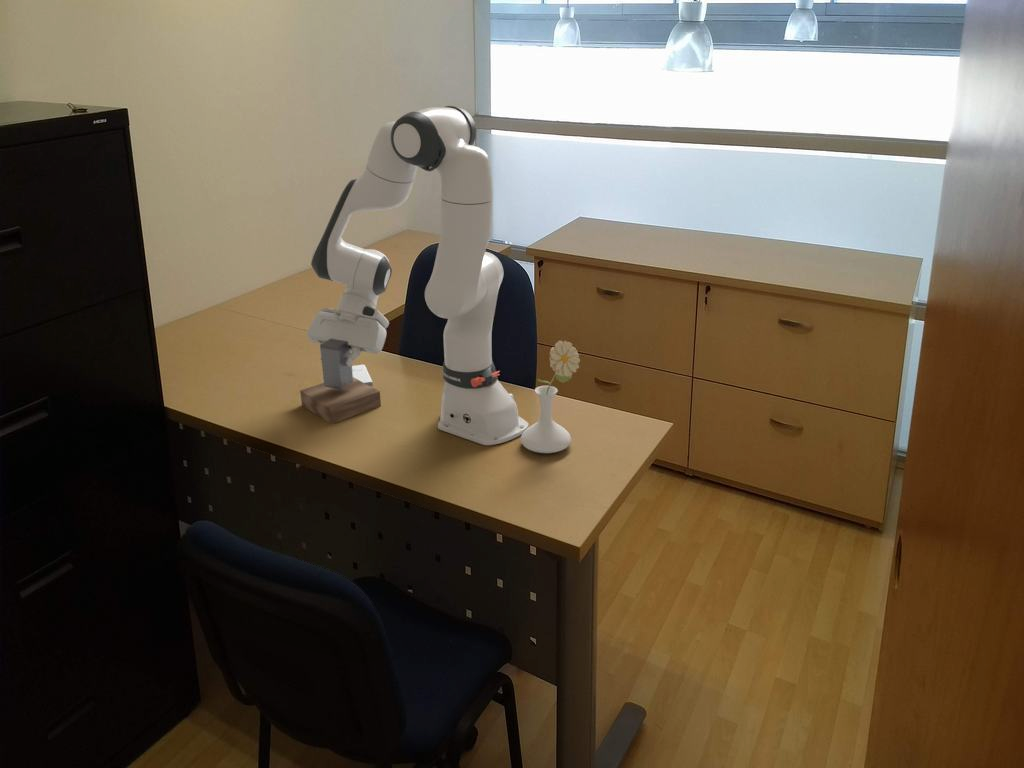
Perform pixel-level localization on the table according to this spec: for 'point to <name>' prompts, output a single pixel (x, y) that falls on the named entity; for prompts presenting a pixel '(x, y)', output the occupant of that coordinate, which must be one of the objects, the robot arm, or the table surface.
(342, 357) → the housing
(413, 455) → the table surface
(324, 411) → the stand
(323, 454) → the table surface
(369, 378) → the external hard drive
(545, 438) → the flower in vase
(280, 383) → the table surface
